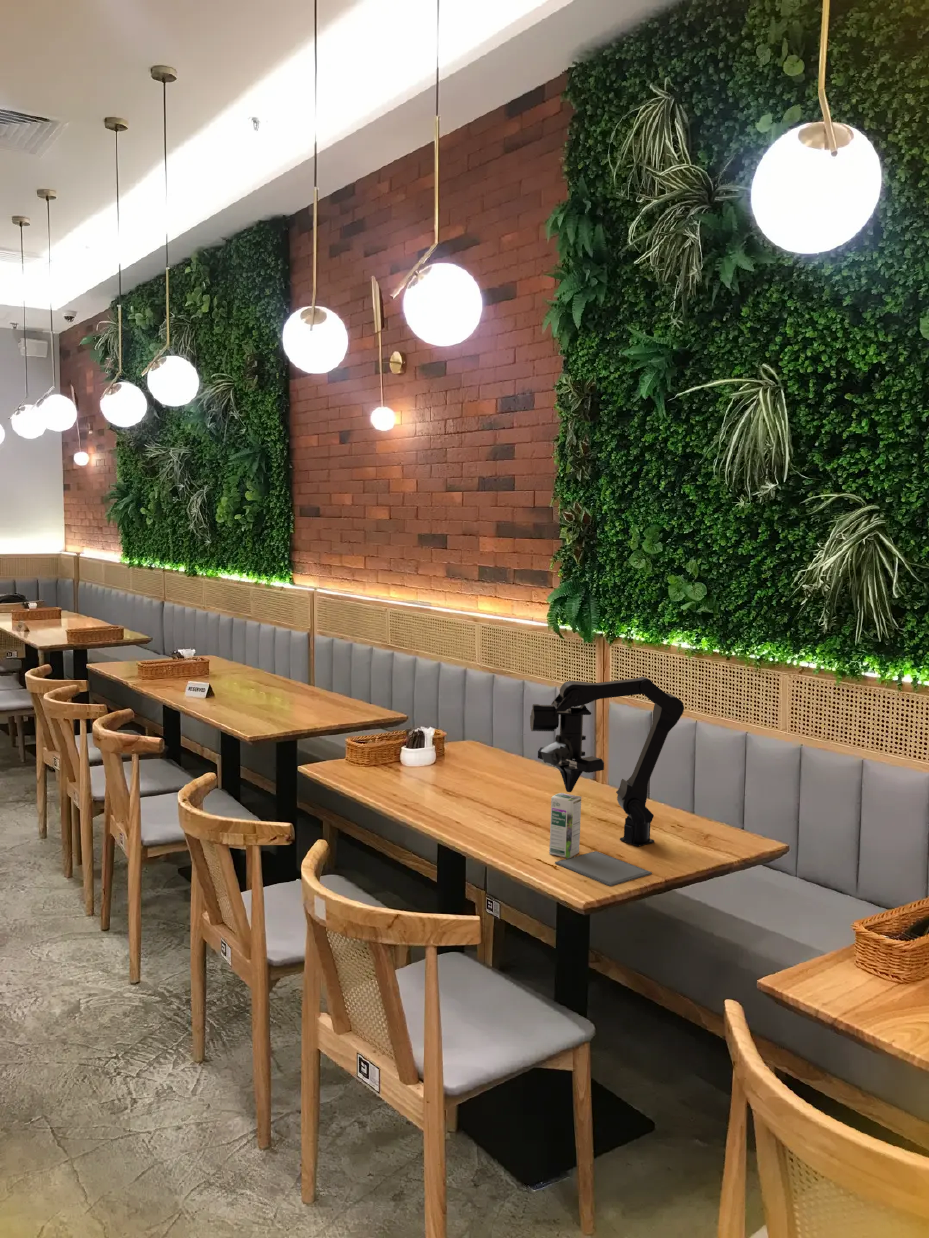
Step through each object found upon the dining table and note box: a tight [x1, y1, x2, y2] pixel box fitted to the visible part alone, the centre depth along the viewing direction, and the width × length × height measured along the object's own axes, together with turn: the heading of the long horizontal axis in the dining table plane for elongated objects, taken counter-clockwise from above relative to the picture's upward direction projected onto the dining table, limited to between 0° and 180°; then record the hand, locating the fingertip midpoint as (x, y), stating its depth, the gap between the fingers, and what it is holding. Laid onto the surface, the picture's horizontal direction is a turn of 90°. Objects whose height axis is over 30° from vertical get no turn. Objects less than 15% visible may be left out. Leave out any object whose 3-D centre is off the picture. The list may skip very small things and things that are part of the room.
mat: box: [554, 850, 653, 887], centre depth 226 cm, size 14×18×1 cm
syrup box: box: [548, 792, 582, 859], centre depth 235 cm, size 6×6×14 cm
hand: (569, 791), depth 244 cm, fingers closed
